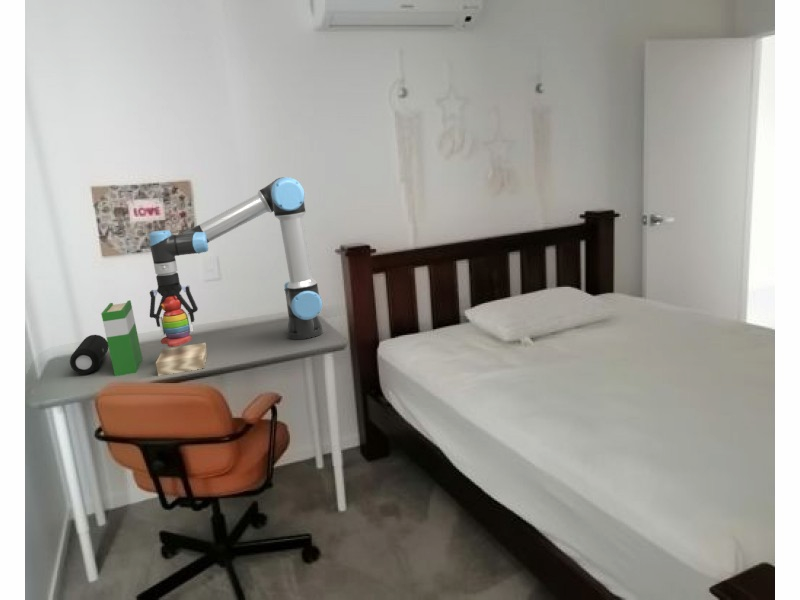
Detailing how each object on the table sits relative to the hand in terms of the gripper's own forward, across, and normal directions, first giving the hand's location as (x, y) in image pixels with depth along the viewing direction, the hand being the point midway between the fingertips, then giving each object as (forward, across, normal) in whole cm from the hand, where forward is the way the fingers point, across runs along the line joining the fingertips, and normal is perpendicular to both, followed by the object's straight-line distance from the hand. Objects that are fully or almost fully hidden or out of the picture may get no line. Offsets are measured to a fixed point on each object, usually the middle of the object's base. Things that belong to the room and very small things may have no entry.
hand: (177, 332), depth 223 cm
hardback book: (+13, -21, +8) cm, 26 cm away
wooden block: (+13, 0, 0) cm, 13 cm away
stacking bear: (+4, 0, 0) cm, 4 cm away
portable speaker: (+13, -36, +19) cm, 43 cm away
